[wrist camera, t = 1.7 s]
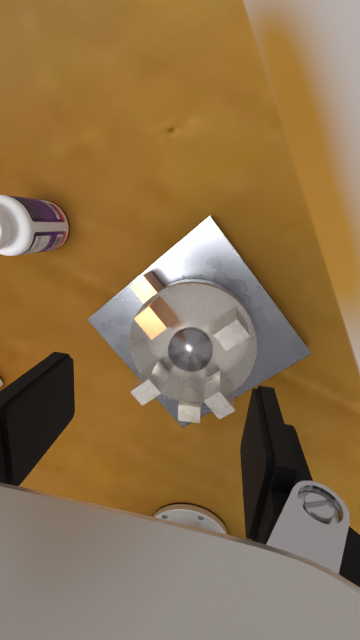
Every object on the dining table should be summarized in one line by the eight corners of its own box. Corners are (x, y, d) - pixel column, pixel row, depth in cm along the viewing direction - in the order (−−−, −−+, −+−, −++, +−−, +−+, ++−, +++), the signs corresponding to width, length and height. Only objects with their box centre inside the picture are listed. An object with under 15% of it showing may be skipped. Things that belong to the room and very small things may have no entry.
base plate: (306, 346, 32) (322, 369, 27) (184, 417, 38) (178, 448, 33) (210, 216, 30) (207, 214, 24) (94, 314, 35) (71, 330, 30)
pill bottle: (22, 201, 32) (-59, 191, 23) (66, 199, 31) (0, 188, 22) (31, 250, 34) (-41, 259, 25) (73, 250, 33) (14, 259, 24)
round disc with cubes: (278, 349, 31) (292, 383, 24) (185, 405, 35) (175, 448, 28) (191, 236, 28) (181, 239, 22) (103, 310, 32) (71, 332, 26)
